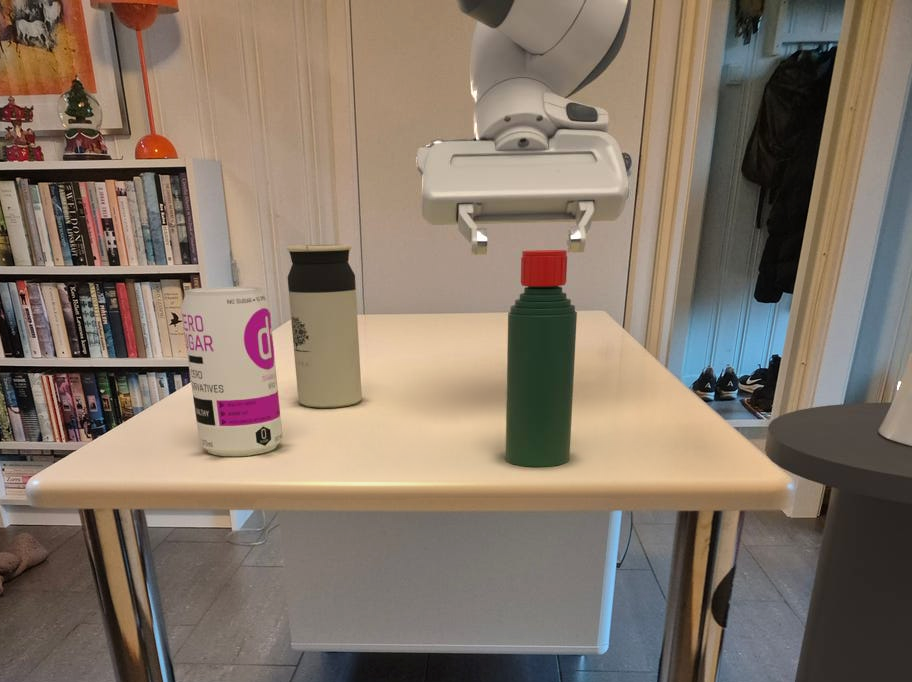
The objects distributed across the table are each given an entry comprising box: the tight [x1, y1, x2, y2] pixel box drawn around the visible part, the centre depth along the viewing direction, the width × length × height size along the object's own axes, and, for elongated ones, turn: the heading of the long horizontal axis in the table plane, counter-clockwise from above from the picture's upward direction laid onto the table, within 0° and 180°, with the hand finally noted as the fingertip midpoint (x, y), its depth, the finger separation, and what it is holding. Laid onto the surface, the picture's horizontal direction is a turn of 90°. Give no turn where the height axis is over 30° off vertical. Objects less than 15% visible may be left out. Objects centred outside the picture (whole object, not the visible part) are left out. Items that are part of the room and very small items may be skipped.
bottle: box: [505, 286, 578, 468], centre depth 77 cm, size 6×6×18 cm
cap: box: [520, 249, 568, 287], centre depth 73 cm, size 4×4×3 cm
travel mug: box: [286, 243, 363, 409], centre depth 104 cm, size 8×8×18 cm
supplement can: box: [180, 285, 283, 457], centre depth 83 cm, size 8×8×15 cm
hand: (528, 248), depth 82 cm, fingers open, 8 cm apart
